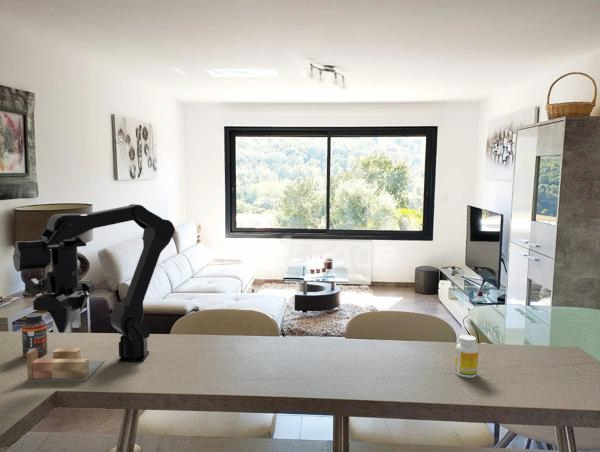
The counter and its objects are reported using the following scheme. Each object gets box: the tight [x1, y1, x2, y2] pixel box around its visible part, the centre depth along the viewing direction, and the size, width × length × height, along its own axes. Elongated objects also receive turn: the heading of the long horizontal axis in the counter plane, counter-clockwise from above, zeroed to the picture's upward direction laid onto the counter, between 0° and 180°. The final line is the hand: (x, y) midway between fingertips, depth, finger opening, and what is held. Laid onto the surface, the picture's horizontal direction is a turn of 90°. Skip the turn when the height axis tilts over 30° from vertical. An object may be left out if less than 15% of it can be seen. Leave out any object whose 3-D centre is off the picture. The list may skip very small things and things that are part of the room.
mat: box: [26, 360, 105, 383], centre depth 116 cm, size 14×12×1 cm
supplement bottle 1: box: [21, 312, 48, 358], centre depth 127 cm, size 6×6×11 cm
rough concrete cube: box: [52, 308, 82, 335], centre depth 113 cm, size 4×5×5 cm
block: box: [26, 347, 90, 380], centre depth 116 cm, size 14×10×6 cm
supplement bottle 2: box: [454, 334, 479, 379], centre depth 116 cm, size 5×5×10 cm
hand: (67, 328), depth 113 cm, fingers closed on rough concrete cube, 5 cm apart
